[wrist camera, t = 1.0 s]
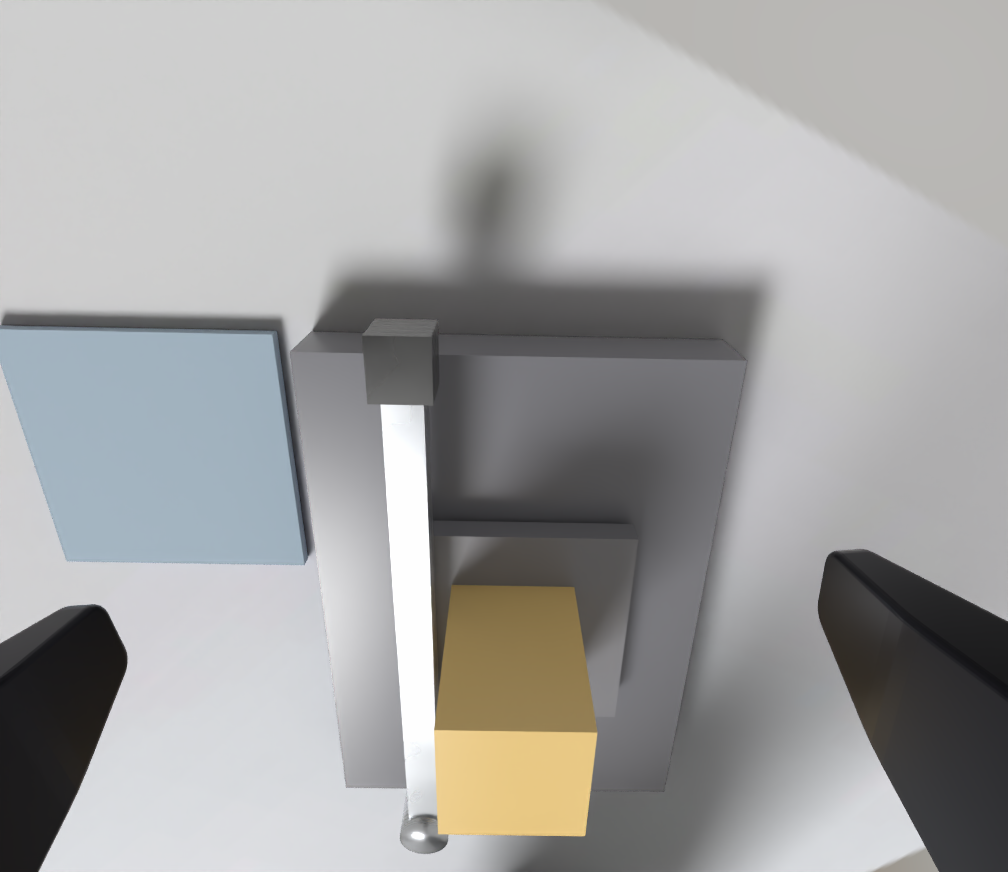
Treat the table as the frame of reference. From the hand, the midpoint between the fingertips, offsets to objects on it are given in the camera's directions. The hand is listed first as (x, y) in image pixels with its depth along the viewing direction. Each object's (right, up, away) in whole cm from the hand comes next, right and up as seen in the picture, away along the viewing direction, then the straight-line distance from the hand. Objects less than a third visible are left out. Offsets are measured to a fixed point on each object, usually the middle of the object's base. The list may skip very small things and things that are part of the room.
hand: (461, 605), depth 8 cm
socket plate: (+1, -3, +14) cm, 14 cm away
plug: (+1, -3, +14) cm, 14 cm away
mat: (-10, +2, +12) cm, 16 cm away
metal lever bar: (-2, -3, +11) cm, 12 cm away
